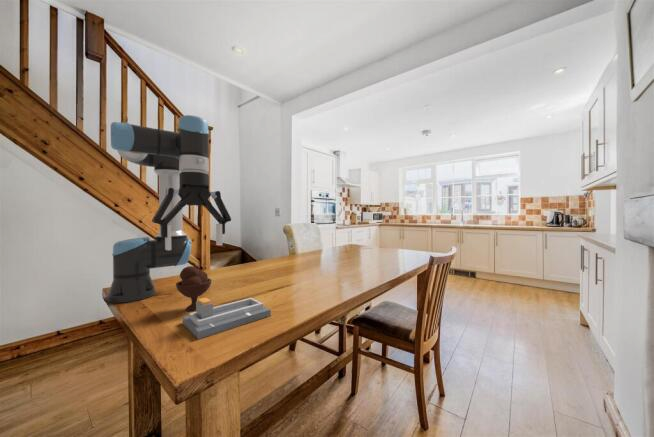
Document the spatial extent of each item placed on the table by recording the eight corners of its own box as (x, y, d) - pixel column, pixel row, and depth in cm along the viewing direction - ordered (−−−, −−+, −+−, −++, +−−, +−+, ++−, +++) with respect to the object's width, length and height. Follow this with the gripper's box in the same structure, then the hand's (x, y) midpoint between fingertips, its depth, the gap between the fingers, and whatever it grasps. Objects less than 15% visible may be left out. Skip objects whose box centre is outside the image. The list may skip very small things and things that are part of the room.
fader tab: (196, 318, 75) (196, 299, 75) (206, 315, 77) (206, 296, 77) (202, 323, 72) (201, 303, 72) (213, 320, 74) (212, 300, 74)
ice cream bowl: (197, 315, 82) (197, 269, 82) (168, 313, 85) (168, 268, 84) (218, 304, 93) (217, 263, 93) (191, 302, 95) (191, 262, 95)
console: (182, 323, 77) (182, 311, 77) (249, 304, 92) (249, 295, 92) (198, 339, 67) (198, 326, 67) (270, 315, 82) (270, 304, 82)
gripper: (144, 164, 61) (145, 253, 61) (241, 176, 79) (242, 244, 79) (137, 169, 66) (139, 250, 66) (230, 178, 84) (231, 242, 84)
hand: (195, 247), depth 72 cm, fingers open, 13 cm apart
